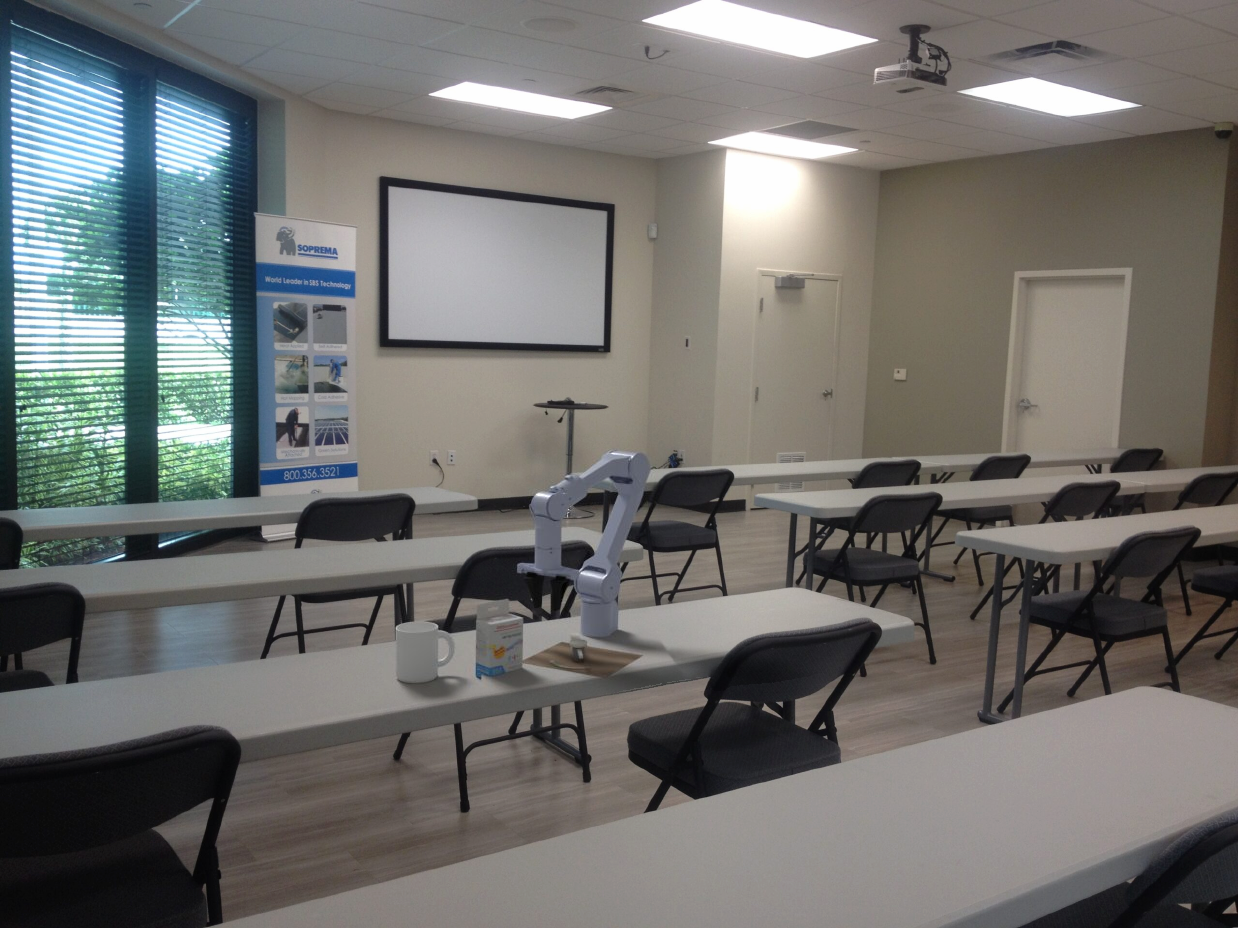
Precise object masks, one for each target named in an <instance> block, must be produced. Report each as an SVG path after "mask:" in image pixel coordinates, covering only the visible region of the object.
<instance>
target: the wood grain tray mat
mask: <svg viewBox="0 0 1238 928" xmlns="http://www.w3.org/2000/svg"><path fill="white" fill-rule="evenodd" d="M643 656H644V655H643V654H639V653H638V654H636V653H632V652H625V651H620V650H613V649H607V648H603V647H601V648H600V647H595V646H590V645H587V646H586V647H585V654H584V661H583V662H573V661H572V649H571V646H570V642H565V641H560V642H558V643H556V644H554V645H552V646H550V647H547V648H546V649H544V650H542V651H540V652H538V653H536V654H533V655H531V656H529V657H527V658H525V659H523V660H522V664H526V665H532V666H538V667H542V668H549V669H553V670H559V671H565V672H571V673H576V674H582V675H587V676H591V677H598V678H604V679H606V678H608V677H609V676H611V675H613V674H614V673H616V672H618V671H620V670H621V669H623V668H624V667H626V666H628V665H629V664H631V663H633V662H634V661H635V662H636V660H638V659H640V658H642V657H643Z"/></svg>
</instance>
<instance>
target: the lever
mask: <svg viewBox="0 0 1238 928" xmlns="http://www.w3.org/2000/svg"><path fill="white" fill-rule="evenodd" d="M569 643H570V646H571V649H572V661H573V662H583V661H584V654H585V647H586V646H588V640H586V639H583V638H581V637H580V633H579V632H575V633H574V632H572V633H571V632H570V633H569Z"/></svg>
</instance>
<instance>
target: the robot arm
mask: <svg viewBox="0 0 1238 928" xmlns="http://www.w3.org/2000/svg"><path fill="white" fill-rule="evenodd" d="M651 470H652V468H651V465H650V462H649V459H648V456H647V455H646V454H645V453H644V452H634V451H633V452H632V451H622V450H617V449H611V450H609V451H607V453H604V454H602V455H601V459H600V460H599V461H597V462H596V463H594V464H593V465H592V466H591V467H589V468H588V469H587V470H585V471H584V472H583V473H582V474H580V475H575V474H571V475H570V474H567V475H565V476H564V479H563V480H561V482H559V483H557V484H555V485H551V486H550V487H549V489H548V490H547V491H539V492H537V493H536V494H535V495H534V496H533V497H532V499H531V502H530V504H529V507H528V508H529V511H530V513H531V515H532V518H533V523H534V563H530V562H528V563H527V562H526V563H525V562H520V563H518V564H517V565H516V568H517V569H516V571H517V573H518V574H523V573H524V574H526V576H524V577H523V581H524V582H525V584H526V587H527V588H528V591H529V594H530V596H531V599H532V604H533V608H534V609H538V608H540V607H542V605H543V587H544V582H545V577H546V576H547V577H554V578H552V579H550V587H551V592H552V611H554V612H558V611H559V610H561V608H562V604H563V600H564V597H565V594H566V591H567V589H568V588H569V585H570V584H571V583H572V581H573V587H574V590H575V592H576V593H577V594H578V598H579V599H580V633H579V634H580V635H582V636H584V637H589V638H604V637H605V638H606V637H608V636H611V635H612V634H613V633H614V632H616V631H618V630H619V605H618V603H617V601H616V598H618V597H617V596H618V595H619V593H620V589H621V579H622V578H623V571H622V570H621V568H620V567H619V565H618V561H619V559H620V556H621V554H622V551H623V548H624V546H625V543H626V541H627V538H628V535H629V533H630V530H631V527H632V526H633V523H634V520H635V517H636V515H637V512H638V510H639V507H640V505H641V501H642V499H643V496H644V491H645V487H646V483H647V480H648V479H649V475H650V473H651ZM606 479H608V480H609V481H610V482H611V484H612V486H613V488H615V489H616V490H617V493H618V495H617V497H616V500H615V502H614V505H613V507H612V510H611V512H610V515H609V518H608V520H607V524H606V526H605V528H604V531H603V534H602V536H601V539H600V541H599V543H598V546H597V547H596V550H595V553H594V555H592V556H591V557H590V558H588V559H586V560H585V561H583V565H582V567H581V568H580V569H574V568H570V567H565V566H562V522H563V521H562V520H563V519H565V517H566V515H567V514H568V510H569V509H570V508H571V507H572V506H574V505H576V504H577V503H579V502H580V501H581V500H583V499H584V498H586V497H587V495H588V489H590V488H592V487H594V486H596V485H597V484H599V483H601V482H603V481H605V480H606Z"/></svg>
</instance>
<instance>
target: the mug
mask: <svg viewBox="0 0 1238 928" xmlns="http://www.w3.org/2000/svg"><path fill="white" fill-rule="evenodd" d="M439 639H444V640H445V641H446V642H447V645H448V647H447V648H448V651H447V654H446V655H445V656H444V657H443V658H442V659H441V658H440V659H439ZM455 651H456V643H455V640H454V638H453V636H452V635H451V634H450V633H449V632H447V631H444V630H441V629H440V630H439V625H438V624H436V623H434V622H429V621H409V622H404V623H400V624H398V625H396V626H395V676H396V678H397V680H398V682H399V681H400V682H402V683H404V684H405V683H406V684H424V683H428V682H432V681H434V680H435V679H436V678H438V675H439V668H442V667H444V666H446V665H448V664H449V663H450V662H451V661H452V659H453V657H454V655H455Z"/></svg>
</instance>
